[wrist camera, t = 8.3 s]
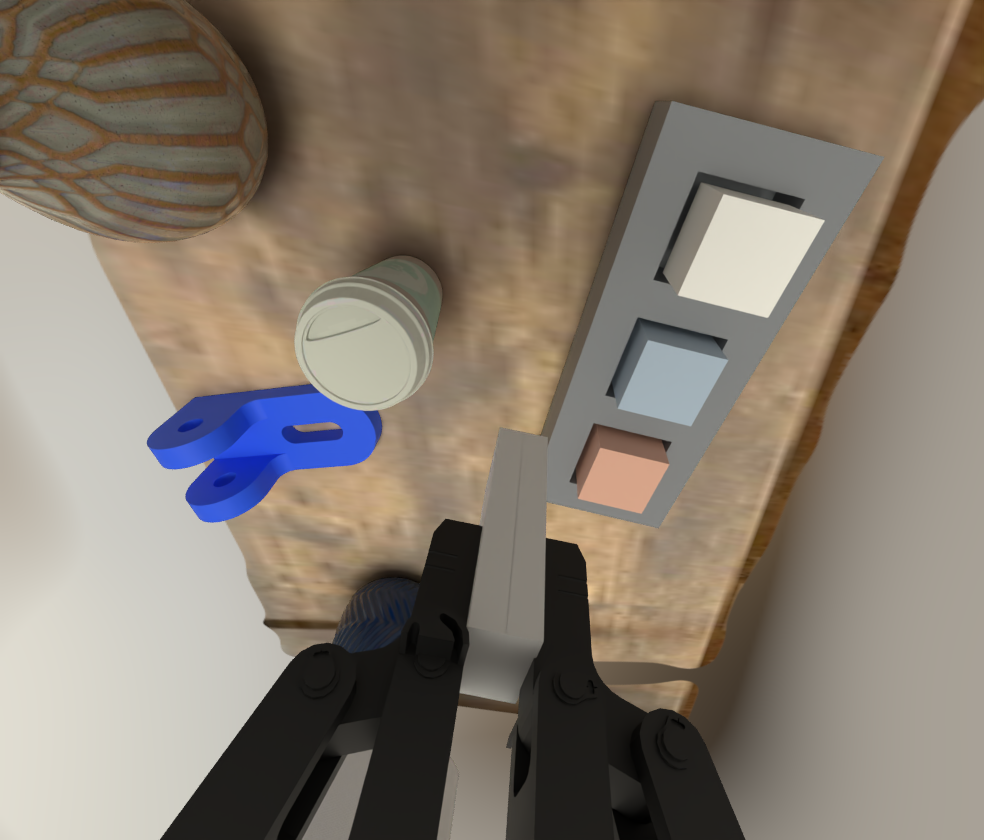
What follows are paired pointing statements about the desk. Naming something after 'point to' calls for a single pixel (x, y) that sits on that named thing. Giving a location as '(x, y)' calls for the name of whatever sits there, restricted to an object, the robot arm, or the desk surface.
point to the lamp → (363, 628)
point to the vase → (126, 118)
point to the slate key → (667, 371)
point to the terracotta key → (620, 468)
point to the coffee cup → (371, 334)
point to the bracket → (258, 443)
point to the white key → (739, 249)
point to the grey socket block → (648, 294)
